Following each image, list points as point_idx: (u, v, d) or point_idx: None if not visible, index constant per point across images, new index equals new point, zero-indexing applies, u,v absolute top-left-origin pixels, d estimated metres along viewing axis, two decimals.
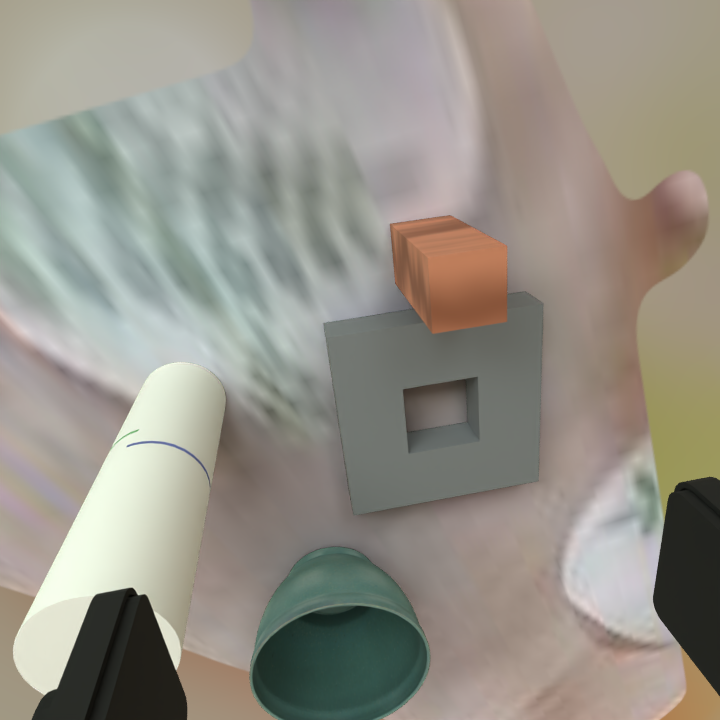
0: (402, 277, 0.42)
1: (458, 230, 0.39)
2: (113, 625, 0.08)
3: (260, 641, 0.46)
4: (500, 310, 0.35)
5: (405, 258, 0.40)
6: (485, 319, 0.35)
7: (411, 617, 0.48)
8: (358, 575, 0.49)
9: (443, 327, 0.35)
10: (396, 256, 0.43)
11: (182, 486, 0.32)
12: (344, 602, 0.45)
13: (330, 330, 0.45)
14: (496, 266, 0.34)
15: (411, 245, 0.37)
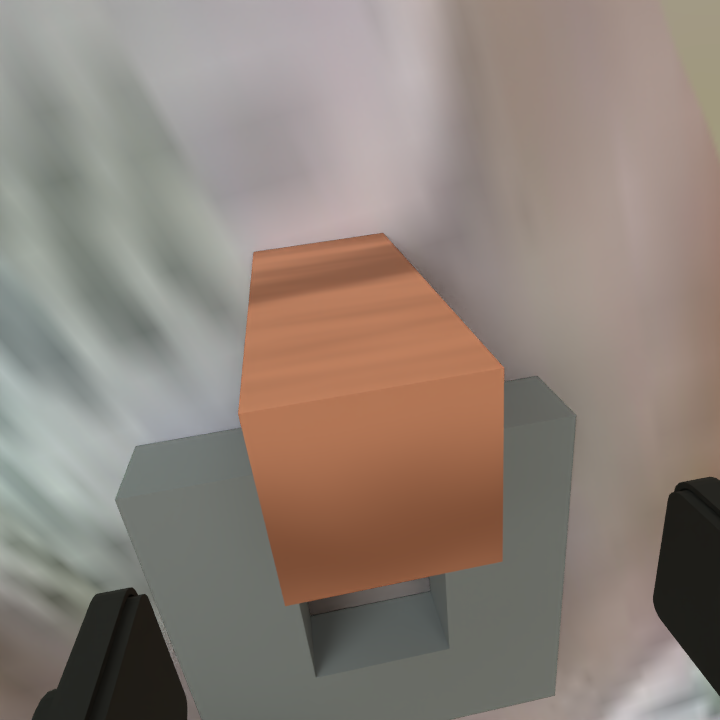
0: None
1: (382, 282, 0.16)
2: (113, 625, 0.08)
3: None
4: (483, 537, 0.12)
5: None
6: (440, 561, 0.12)
7: None
8: None
9: (315, 590, 0.12)
10: None
11: None
12: None
13: (135, 473, 0.21)
14: (470, 427, 0.11)
15: None
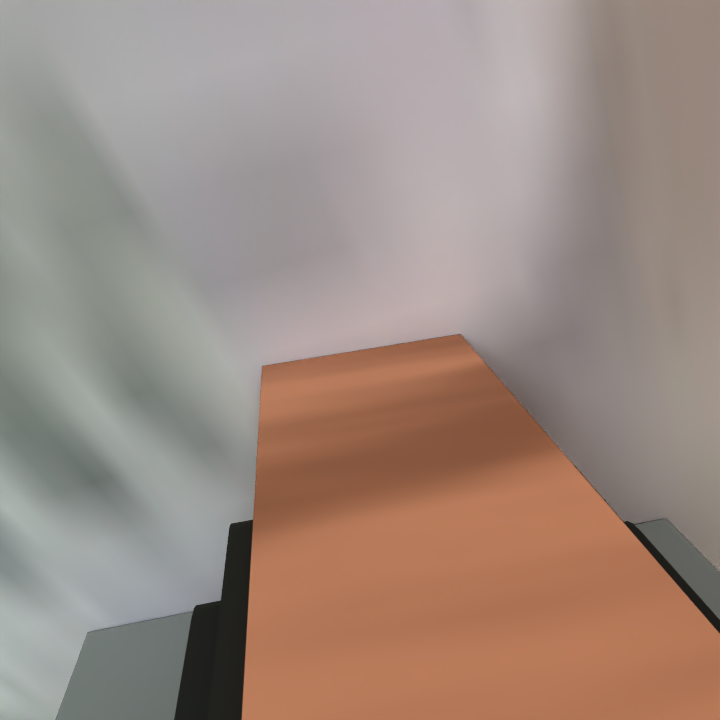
0: None
1: (506, 485, 0.08)
2: None
3: None
4: None
5: None
6: None
7: None
8: None
9: None
10: None
11: None
12: None
13: (80, 695, 0.14)
14: None
15: None
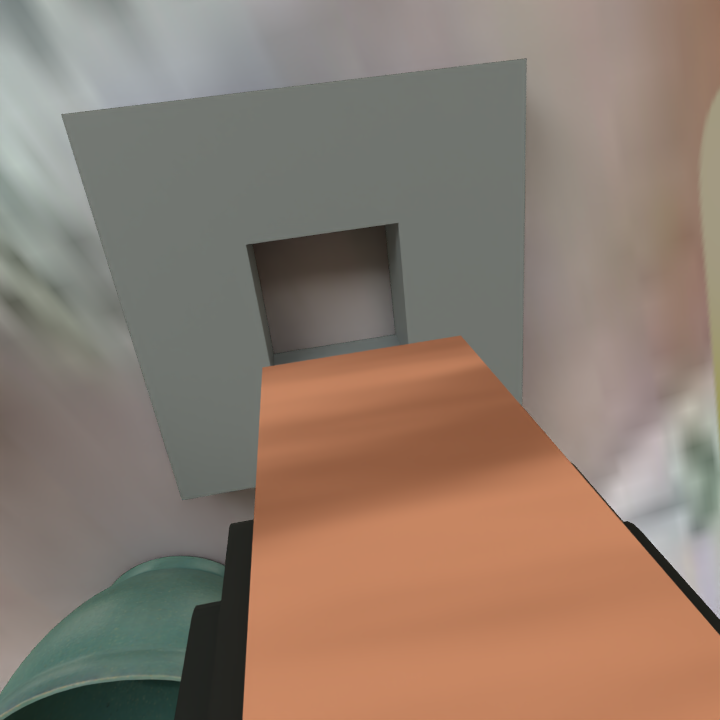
0: None
1: (507, 488, 0.08)
2: None
3: None
4: None
5: None
6: None
7: None
8: (180, 612, 0.26)
9: None
10: None
11: None
12: (122, 673, 0.22)
13: None
14: None
15: None
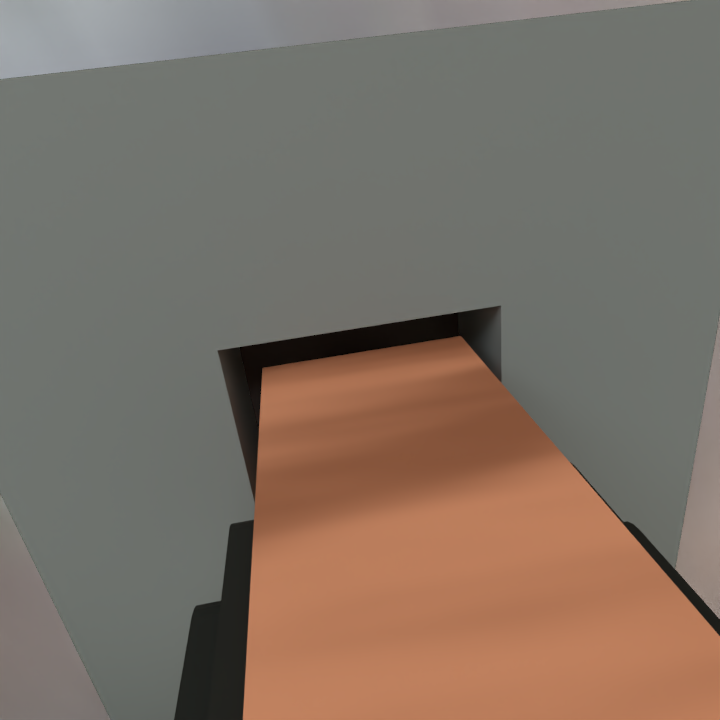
0: None
1: (507, 488, 0.08)
2: None
3: None
4: None
5: None
6: None
7: None
8: None
9: None
10: None
11: None
12: None
13: None
14: None
15: None
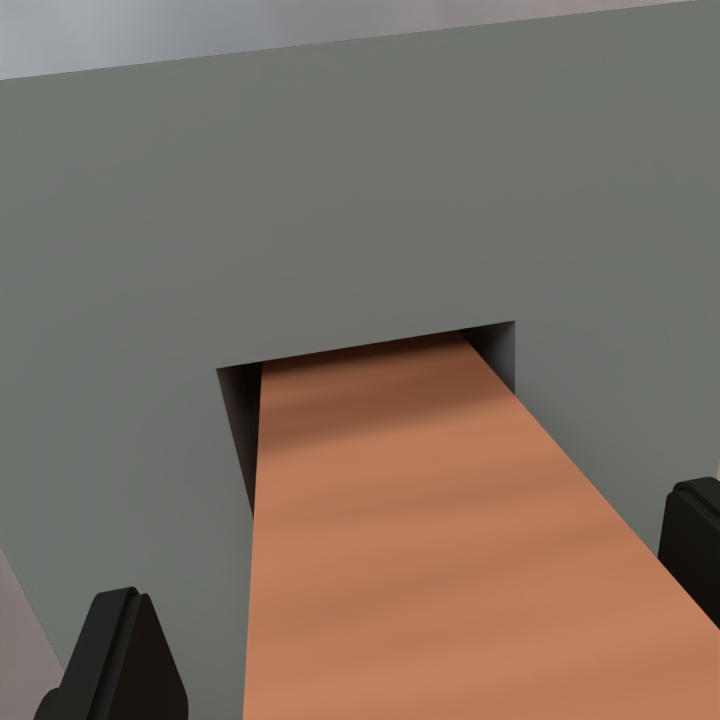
0: None
1: (466, 418, 0.10)
2: (115, 624, 0.08)
3: None
4: None
5: None
6: None
7: None
8: None
9: None
10: None
11: None
12: None
13: None
14: None
15: None
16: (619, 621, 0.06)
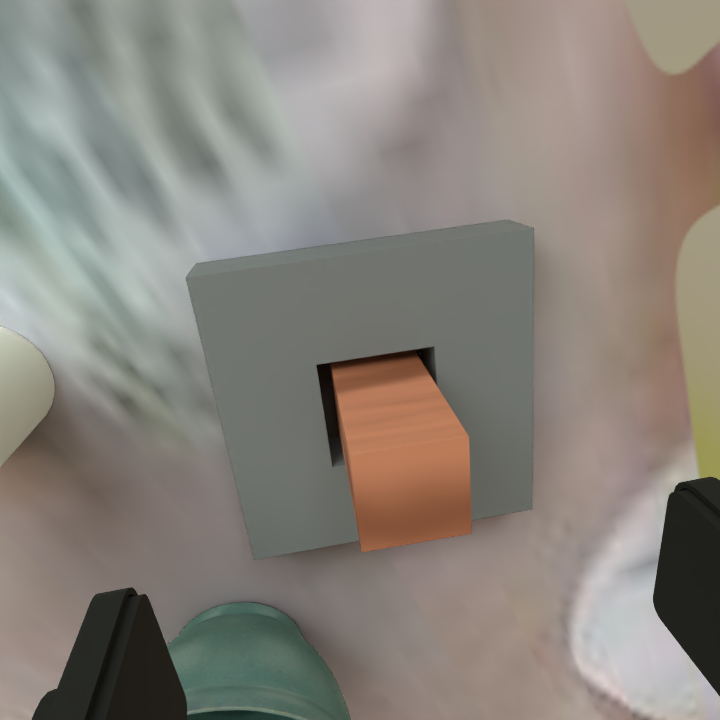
0: None
1: (410, 381, 0.28)
2: (113, 625, 0.08)
3: None
4: (461, 519, 0.24)
5: None
6: (439, 531, 0.24)
7: None
8: (255, 654, 0.32)
9: (377, 544, 0.24)
10: (334, 396, 0.33)
11: None
12: (218, 705, 0.28)
13: (198, 269, 0.28)
14: (453, 463, 0.23)
15: (340, 410, 0.26)
16: (437, 422, 0.24)
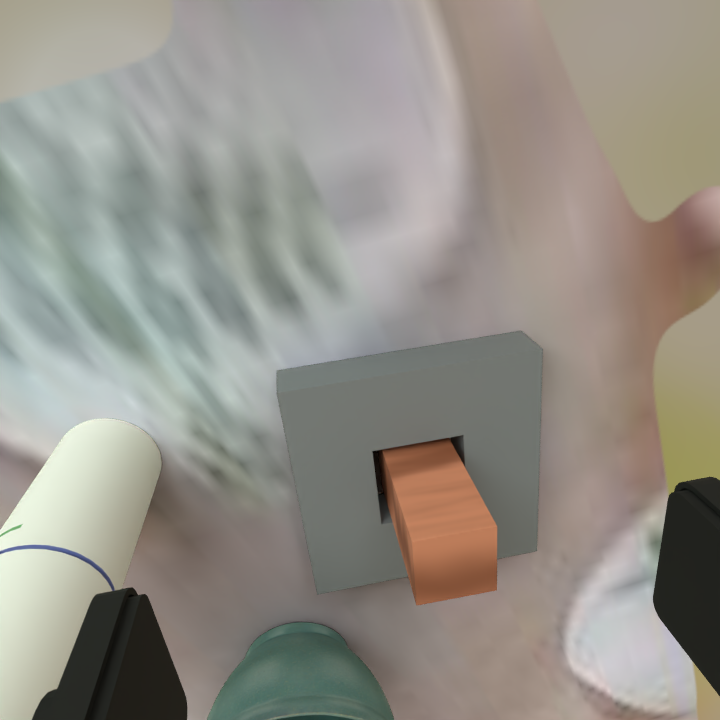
0: (388, 496, 0.40)
1: (447, 468, 0.36)
2: (113, 625, 0.08)
3: None
4: (489, 581, 0.33)
5: (390, 490, 0.38)
6: (473, 589, 0.33)
7: None
8: (321, 669, 0.41)
9: (428, 599, 0.33)
10: (382, 468, 0.41)
11: (61, 615, 0.24)
12: (300, 711, 0.37)
13: (283, 381, 0.37)
14: (485, 544, 0.32)
15: (396, 495, 0.35)
16: (472, 511, 0.32)
